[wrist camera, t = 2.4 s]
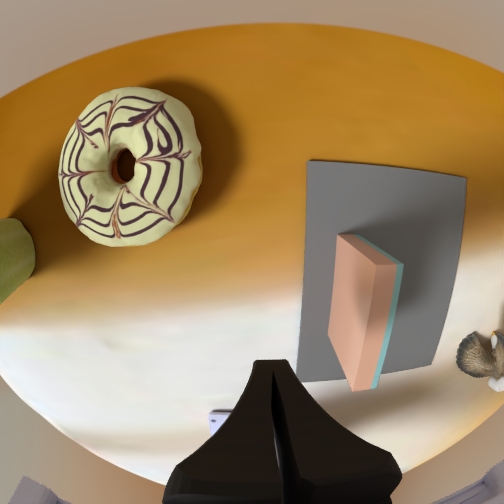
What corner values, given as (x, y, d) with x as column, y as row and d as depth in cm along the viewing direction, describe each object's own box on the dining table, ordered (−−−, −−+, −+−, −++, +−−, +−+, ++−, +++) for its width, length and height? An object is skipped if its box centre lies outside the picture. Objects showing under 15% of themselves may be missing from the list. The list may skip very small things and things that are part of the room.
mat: (429, 362, 24) (430, 364, 23) (295, 379, 24) (295, 382, 23) (463, 177, 19) (466, 178, 19) (306, 161, 19) (307, 160, 19)
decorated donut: (206, 87, 18) (196, 69, 14) (210, 236, 21) (201, 250, 17) (78, 109, 18) (52, 101, 14) (84, 241, 21) (58, 253, 17)
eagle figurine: (522, 318, 22) (500, 310, 19) (537, 372, 17) (519, 378, 15) (478, 348, 27) (445, 346, 25) (488, 398, 23) (457, 407, 20)
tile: (346, 332, 22) (375, 388, 15) (327, 334, 22) (352, 391, 15) (357, 234, 20) (403, 264, 13) (337, 234, 20) (376, 264, 13)
